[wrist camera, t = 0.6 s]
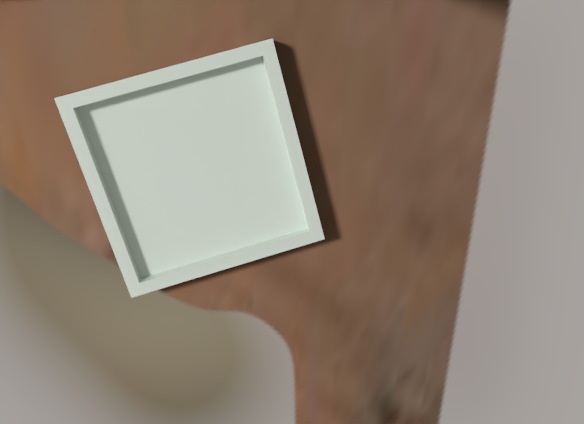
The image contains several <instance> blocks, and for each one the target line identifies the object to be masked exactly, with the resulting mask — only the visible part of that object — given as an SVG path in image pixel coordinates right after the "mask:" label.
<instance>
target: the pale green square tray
mask: <svg viewBox="0 0 584 424" xmlns="http://www.w3.org/2000/svg"><path fill="white" fill-rule="evenodd" d="M54 99H55V102H56V104H57V107H58V109H59V112H60V115H61V117H62V120H63V122H64V125H65V128H66V130H67V133H68V135H69V138H70V140H71V143H72V146H73V148H74V151H75V153H76V156H77V159H78V161H79V164H80V166H81V169H82V171H83V174H84V177H85V179H86V182H87V184H88V187H89V190H90V192H91V195H92V197H93V200H94V203H95V205H96V208H97V210H98V213H99V215H100V218H101V221H102V223H103V226H104V228H105V231H106V234H107V236H108V239H109V241H110V244H111V246H112V249H113V252H114V254H115V257H116V259H117V262H118V265H119V267H120V270H121V272H122V275H123V277H124V280H125V282H126V285H127V288H128V290H129V293H130V295H131V298H132V297H136V296H139V295H142V294H145V293H148V292H152V291H156V290H159V289H162V288H165V287H169V286H172V285H175V284H179V283H182V282H185V281H188V280H192V279H195V278H198V277H202V276H205V275H208V274H212V273H215V272H218V271H221V270H225V269H228V268H231V267H235V266H238V265H241V264H244V263H248V262H251V261H254V260H258V259H261V258H264V257H268V256H271V255H274V254H277V253H281V252H284V251H287V250H291V249H294V248H297V247H301V246H304V245H307V244H310V243H314V242H317V241H320V240H324V239H325V238H324V234H323V230H322V227H321V223H320V219H319V215H318V211H317V207H316V203H315V200H314V196H313V192H312V188H311V184H310V180H309V176H308V173H307V169H306V165H305V161H304V157H303V153H302V150H301V146H300V142H299V138H298V134H297V130H296V126H295V123H294V119H293V115H292V111H291V107H290V103H289V100H288V96H287V92H286V88H285V84H284V80H283V76H282V73H281V69H280V65H279V61H278V57H277V53H276V50H275V46H274V42H273V38H272V39H268V40H265V41H261V42H257V43H254V44H250V45H247V46H243V47H239V48H236V49H232V50H228V51H225V52H221V53H217V54H214V55H210V56H206V57H203V58H199V59H196V60H192V61H188V62H185V63H181V64H177V65H174V66H170V67H166V68H163V69H159V70H155V71H152V72H148V73H145V74H141V75H137V76H134V77H130V78H126V79H123V80H119V81H115V82H112V83H108V84H105V85H101V86H97V87H94V88H90V89H86V90H83V91H79V92H75V93H72V94H68V95H64V96H61V97H57V98H54Z"/></svg>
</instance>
